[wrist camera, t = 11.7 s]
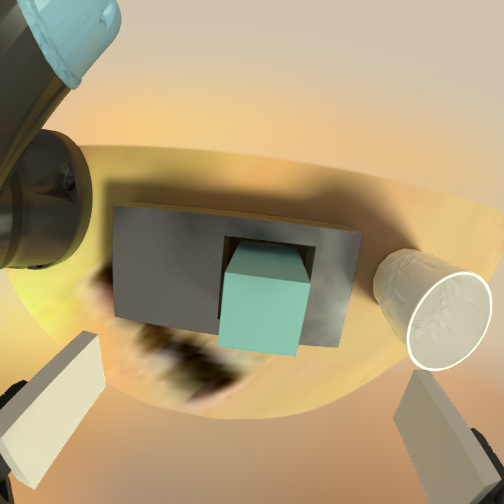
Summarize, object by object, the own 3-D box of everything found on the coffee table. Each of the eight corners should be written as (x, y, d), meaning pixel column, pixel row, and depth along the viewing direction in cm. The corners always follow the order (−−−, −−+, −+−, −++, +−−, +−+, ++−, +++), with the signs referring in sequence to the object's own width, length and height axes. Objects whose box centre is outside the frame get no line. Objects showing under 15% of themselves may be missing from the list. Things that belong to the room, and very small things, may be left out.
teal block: (234, 292, 29) (217, 346, 19) (240, 239, 28) (224, 272, 18) (287, 299, 29) (295, 356, 19) (296, 247, 27) (310, 283, 18)
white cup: (383, 231, 27) (436, 257, 17) (446, 255, 27) (505, 286, 17) (354, 308, 28) (387, 363, 19) (417, 325, 29) (462, 375, 19)
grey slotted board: (131, 300, 30) (114, 316, 26) (133, 201, 27) (113, 205, 23) (330, 327, 29) (337, 347, 25) (349, 225, 27) (362, 233, 23)
